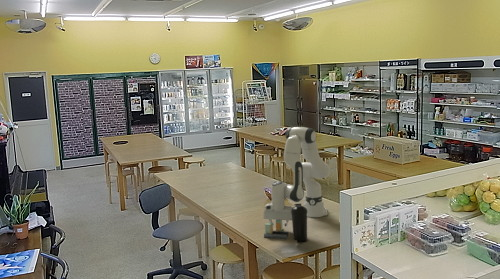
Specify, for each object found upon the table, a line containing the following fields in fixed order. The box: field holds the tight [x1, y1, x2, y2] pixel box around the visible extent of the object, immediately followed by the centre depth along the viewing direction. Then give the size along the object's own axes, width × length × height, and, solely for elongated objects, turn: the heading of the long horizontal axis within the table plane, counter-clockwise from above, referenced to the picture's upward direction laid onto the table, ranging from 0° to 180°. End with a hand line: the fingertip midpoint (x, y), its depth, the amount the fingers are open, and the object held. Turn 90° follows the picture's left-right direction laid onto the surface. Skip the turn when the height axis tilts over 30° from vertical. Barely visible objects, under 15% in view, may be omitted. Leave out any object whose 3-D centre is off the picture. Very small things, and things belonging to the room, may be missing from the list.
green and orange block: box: [264, 222, 274, 234], centre depth 282 cm, size 4×4×8 cm
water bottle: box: [291, 203, 308, 244], centre depth 272 cm, size 10×10×23 cm
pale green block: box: [275, 220, 283, 231], centre depth 291 cm, size 4×4×8 cm
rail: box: [263, 230, 290, 241], centre depth 281 cm, size 10×15×3 cm, turn 71°
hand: (279, 225), depth 290 cm, fingers open, 8 cm apart
